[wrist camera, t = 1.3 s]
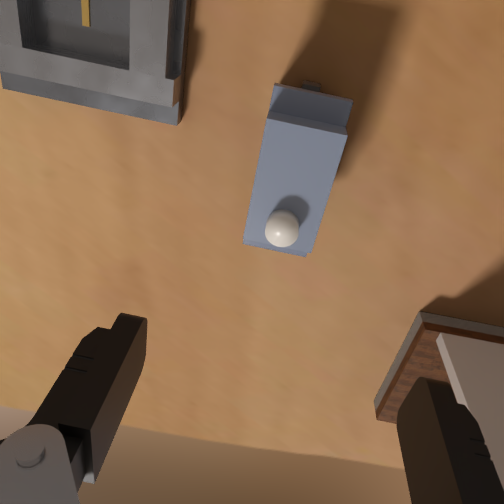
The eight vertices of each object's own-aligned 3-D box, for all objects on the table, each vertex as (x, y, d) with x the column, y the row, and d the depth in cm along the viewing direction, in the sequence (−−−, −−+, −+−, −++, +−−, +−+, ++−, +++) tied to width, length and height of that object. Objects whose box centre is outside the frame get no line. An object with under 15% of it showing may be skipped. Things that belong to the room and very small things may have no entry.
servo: (279, 68, 24) (270, 96, 19) (346, 82, 24) (358, 115, 19) (251, 209, 30) (237, 265, 24) (306, 221, 30) (305, 280, 24)
